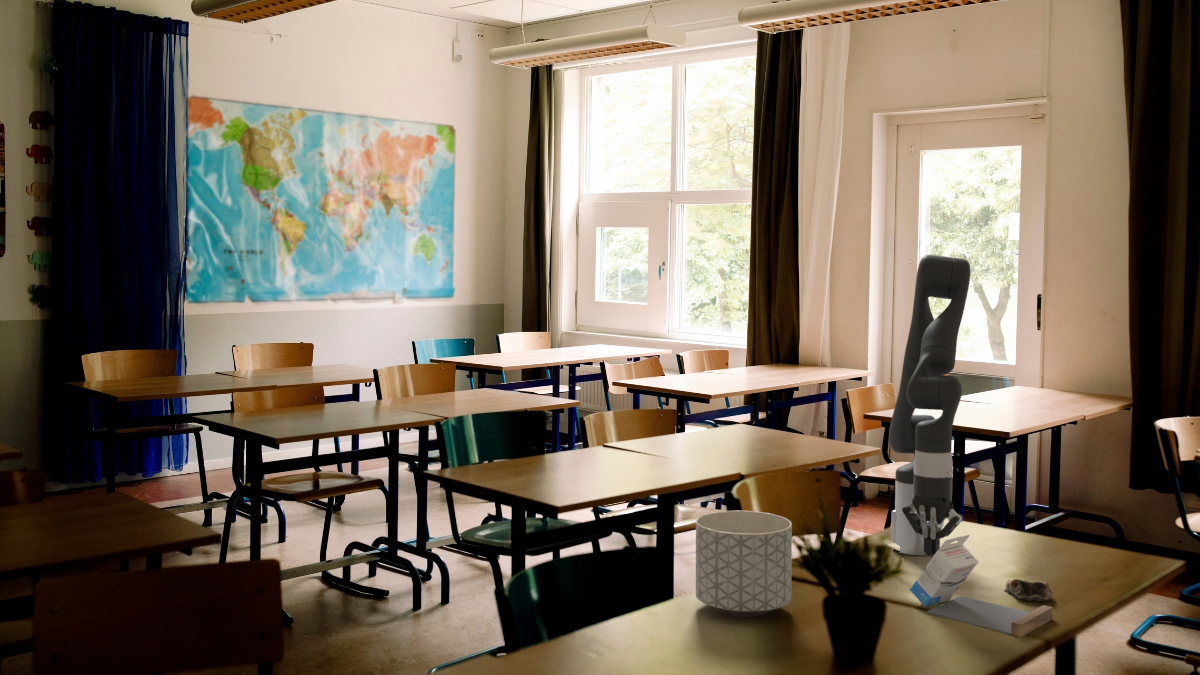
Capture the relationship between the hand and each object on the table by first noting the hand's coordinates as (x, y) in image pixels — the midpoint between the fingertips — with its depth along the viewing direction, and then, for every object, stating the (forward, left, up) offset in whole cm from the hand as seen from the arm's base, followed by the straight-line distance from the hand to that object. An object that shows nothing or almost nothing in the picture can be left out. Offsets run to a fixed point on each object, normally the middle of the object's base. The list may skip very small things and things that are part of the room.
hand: (931, 555), depth 207 cm
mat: (+11, 0, -10) cm, 15 cm away
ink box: (0, 0, -9) cm, 9 cm away
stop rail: (+21, 0, -10) cm, 23 cm away
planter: (-24, -32, -10) cm, 41 cm away
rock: (+12, +18, -10) cm, 24 cm away
